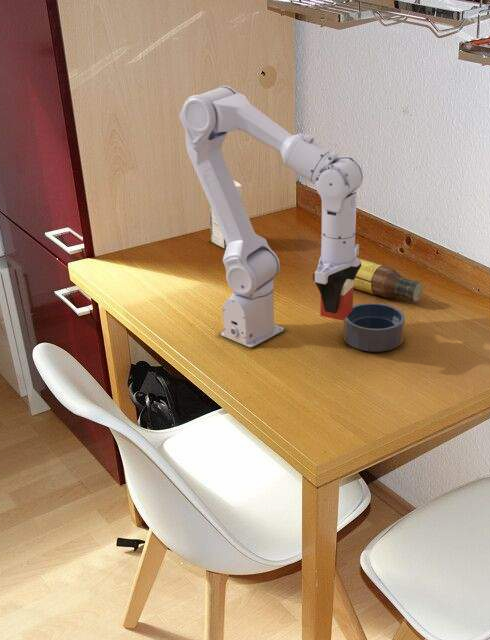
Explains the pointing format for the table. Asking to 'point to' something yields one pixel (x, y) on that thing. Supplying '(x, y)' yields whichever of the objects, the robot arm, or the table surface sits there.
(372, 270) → the sauce bottle
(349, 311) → the red block
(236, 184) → the syrup box
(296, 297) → the table surface
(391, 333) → the bowl
